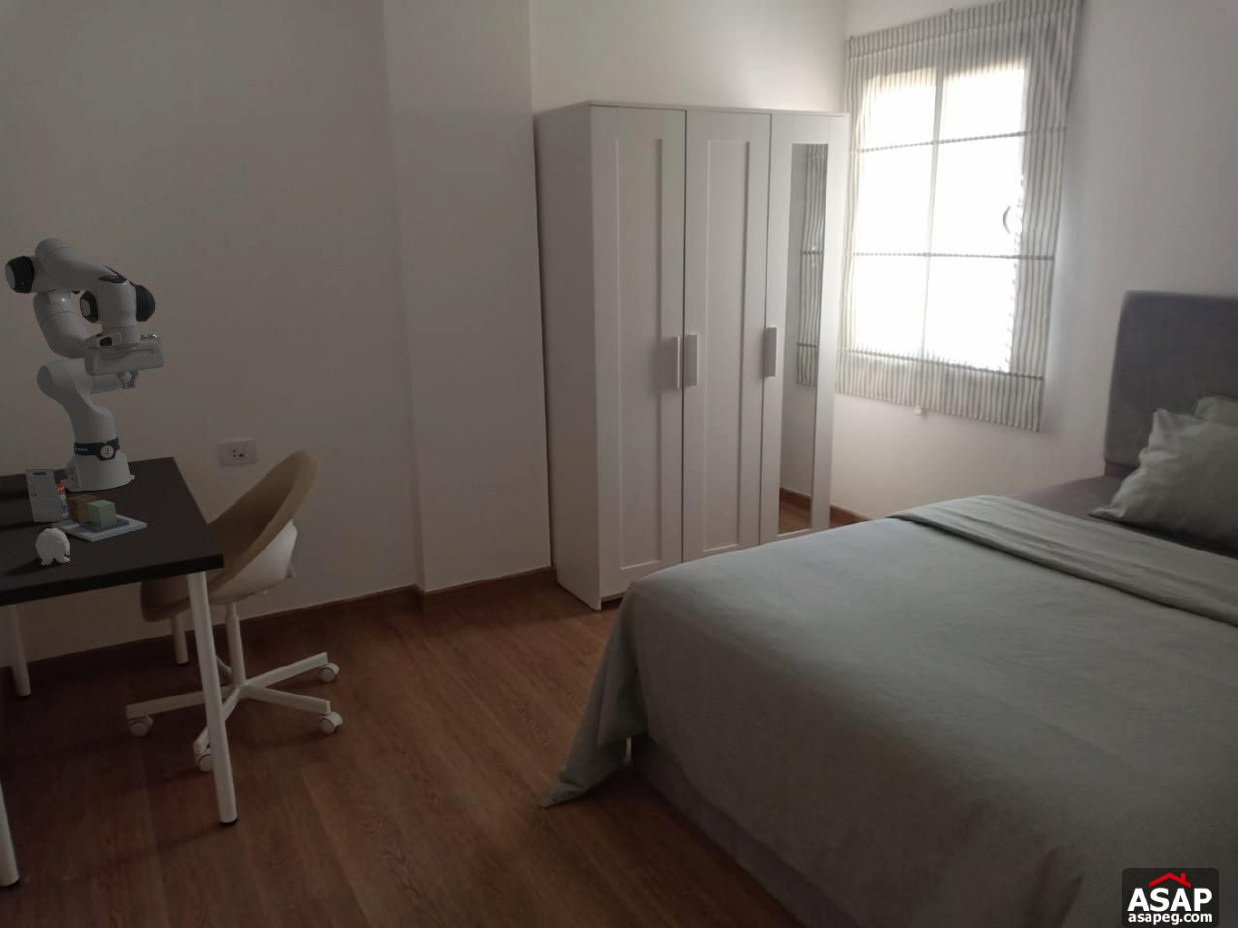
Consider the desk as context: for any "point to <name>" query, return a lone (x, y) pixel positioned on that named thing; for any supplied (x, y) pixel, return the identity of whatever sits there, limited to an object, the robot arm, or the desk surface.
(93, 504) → the sage block
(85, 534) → the board
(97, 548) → the desk surface
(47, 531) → the white animal figurine
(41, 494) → the ink box
